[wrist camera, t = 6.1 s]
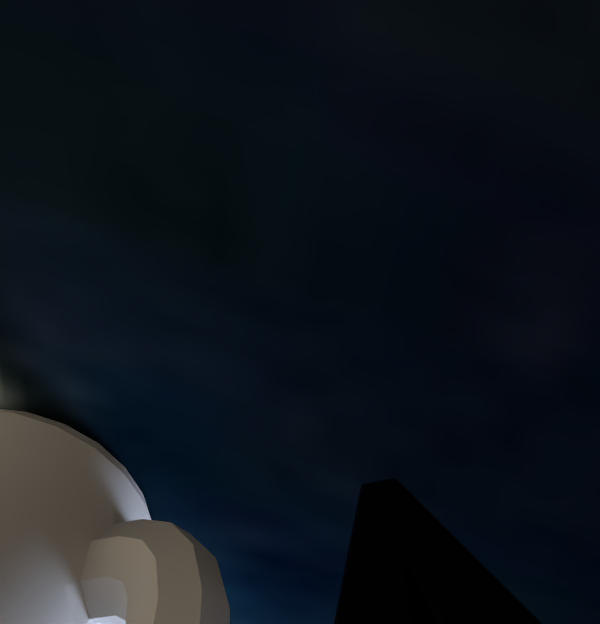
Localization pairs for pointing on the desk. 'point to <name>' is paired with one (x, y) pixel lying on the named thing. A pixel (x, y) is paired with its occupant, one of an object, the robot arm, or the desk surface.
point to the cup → (91, 538)
